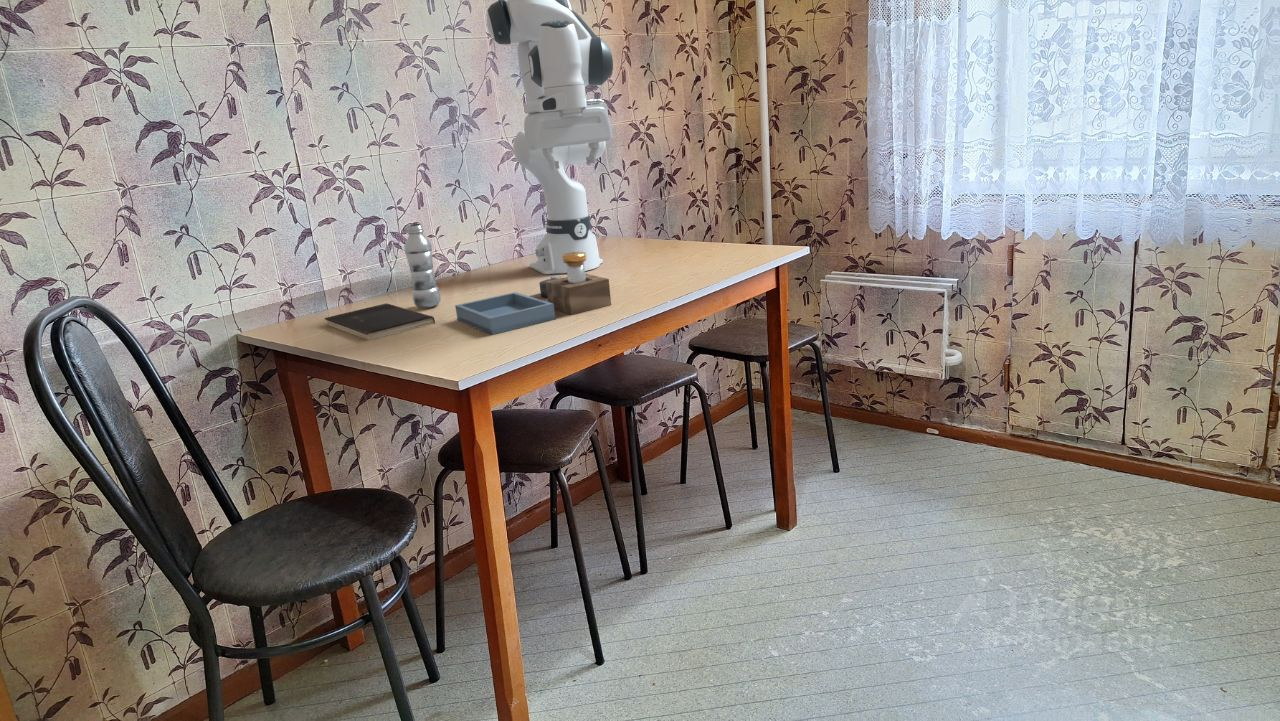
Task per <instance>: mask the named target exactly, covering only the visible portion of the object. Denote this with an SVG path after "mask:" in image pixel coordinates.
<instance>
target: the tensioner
mask: <svg viewBox="0 0 1280 721" xmlns="http://www.w3.org/2000/svg"><path fill="white" fill-rule="evenodd" d="M585 277H586V281H585V282H581V283H576V284H569V283H568V276H567V277H562V276H560V275H559V276H558V275H554V276H551V277H550V278H548V279H544V280H542V281H540V282H539V284H538V285H539V290H540V291H539V292H540V293H539V292H538V293H534V294H532V295H531V294H530V295H529V296H530V297H534V298H537V299H540V300H544V301H547V302H550V303H553V304H554V311H559V312H562V313H565V314H568V315H571V316H572V315H576V314H580V313H584V312H588V311H592V310H596V309H601V308H605V307H608V306H611V305H612V298H611V288H610V287H611V286H610V279H609V278H606V277H602V276H597V275H593V274H590V273H589V274H588V273H585Z"/></svg>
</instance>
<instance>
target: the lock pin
mask: <svg viewBox="0 0 1280 721" xmlns="http://www.w3.org/2000/svg"><path fill="white" fill-rule="evenodd" d="M562 256H563V262H564V263H566V268H567V273H566V274H567V277H568V283H569V284H576V283H581V282H585V281H586V277H585V274H586V271H585V268H584V261H586V253H585V252H571V253H566V254H563V255H562Z"/></svg>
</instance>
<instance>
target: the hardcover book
mask: <svg viewBox="0 0 1280 721" xmlns="http://www.w3.org/2000/svg"><path fill="white" fill-rule="evenodd" d="M324 320H325V321H327V326H329V327H332V328H335V329H337V330H340V331H343V332H346V333H348V334H351V335H354V336H356V337H358V338H359V337H360V338H362V339H364V340H367V341H370V340H376V339H379V338H382V337H383V338H384V337H387V336H390V335H394V334H397V333H402V332H406V331H409V330H413V329H417V328H420V327H424V326H427V325H428V326H429V325H432V324H435V323H436V321H435V317H434V316H432V315H428V314H426V313H425V314H424V313H422V312H417V311H415V310H411V309H407V308H405V307H401V306H397V305H394V304H391V303H387V302H386V303H382V304H378V305H374V306H369V307H365V308H361V309H356V310H353V311H348V312H345V313H340V314H335V315H332V316H328V317H327V316H326V317H324Z"/></svg>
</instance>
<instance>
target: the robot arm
mask: <svg viewBox="0 0 1280 721" xmlns="http://www.w3.org/2000/svg"><path fill="white" fill-rule="evenodd" d="M486 11H487V14H486V26H487V31H488V32H489V34H490V36H491V38H493V40H494V41H495V42H496V43H497V44H499V45H511V44H513V43H518V44H517V59H518V60H517V61H518V68H519V73H520V78H521V82H522V86H523V89H524V93H525V96H526V101H527V102H526V103H525V104H524V105H523V107H524V108H523V109H524V112H525V114H527V115H526V116H525V118H524V122H523V126H524V127H523V128H524V129H522V130H520V131H518V132H517V133H516V135H515V138H514V140H513V145H512V149H513V154H514V157H515V159H516V160H517V163H518V164H520V166H522V168H525V169H526V170H528V171H529V172H530V173H531V174H532V175H533V176H534V177H535V178H536V180H537V181H538V182H539V184H540V186H541V189H542V191H543V195H544V198H545V199H544V200H545V206H546V212H547V220H545V221H544V223H545V224H544V225H545V227H546V229H545V232H546V233H545V235H544V236H543V238H542V239H541V241H540V242H539V243H538V244H537V246H536V249H535V256H536V258H537V261H533V262H531V263H529V267H530V268H531V269H534V270H535V271H537V272H540V273H541V274H543V275H551V274H552V275H554V274H567V268H566V263H564V262H563V256H562V255H563V254H566V253H571V252H585V253H586V261H584V268H585V272H587V271H590V270H594V269H597V268H599V267H600V265H601V264H603V263H604V260H603V258H600V256H599V255H600V254H599V248H598V244H597V237H596V234H594V233H593V232H592V231H591V229H592V219H591V215H589V209H588V201H587V200H588V198H587V190H586V187H584V185H583V184H582V183H581V182H580V181H578V180H576V179H573V178H571V177H569V176H568V175H567V174H566V171H565V166H573V165H581V164H586V165H587V166H592V165H596V164H597V160H598V159H599V158H602V155H603V154H604V152H605V150H606V145H607V142H610V141H611V139H612V137H613V132H612V130H613V129H612V125H611V121H610V117H609V110H608V104H607V103H606V102H605V101H604V100H602V99H601V98H594V99H592V98H591V99H587V97H586V87H585V86H602V85H603V84H605V83H606V82H607V81H608V79H610V77H611V75H612V73H613V71H614V60H613V55H612V51H611V47H610V46H609V45H608V43H607V42H606V41H605V40H604V39H602V38H601V37H600V36H597V34H595V32H594V31H593V30H592V29H591V27H589V26H588V24H587V23H586V22H585V20H583V18H582V17H581V16H580V15H579V14H578V13H577V12H576V11H575V10H572V5H571V2H570V1H569V0H496V1H494V2H493V3H491V4H490V5H489V7H488V8H487V10H486Z"/></svg>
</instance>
